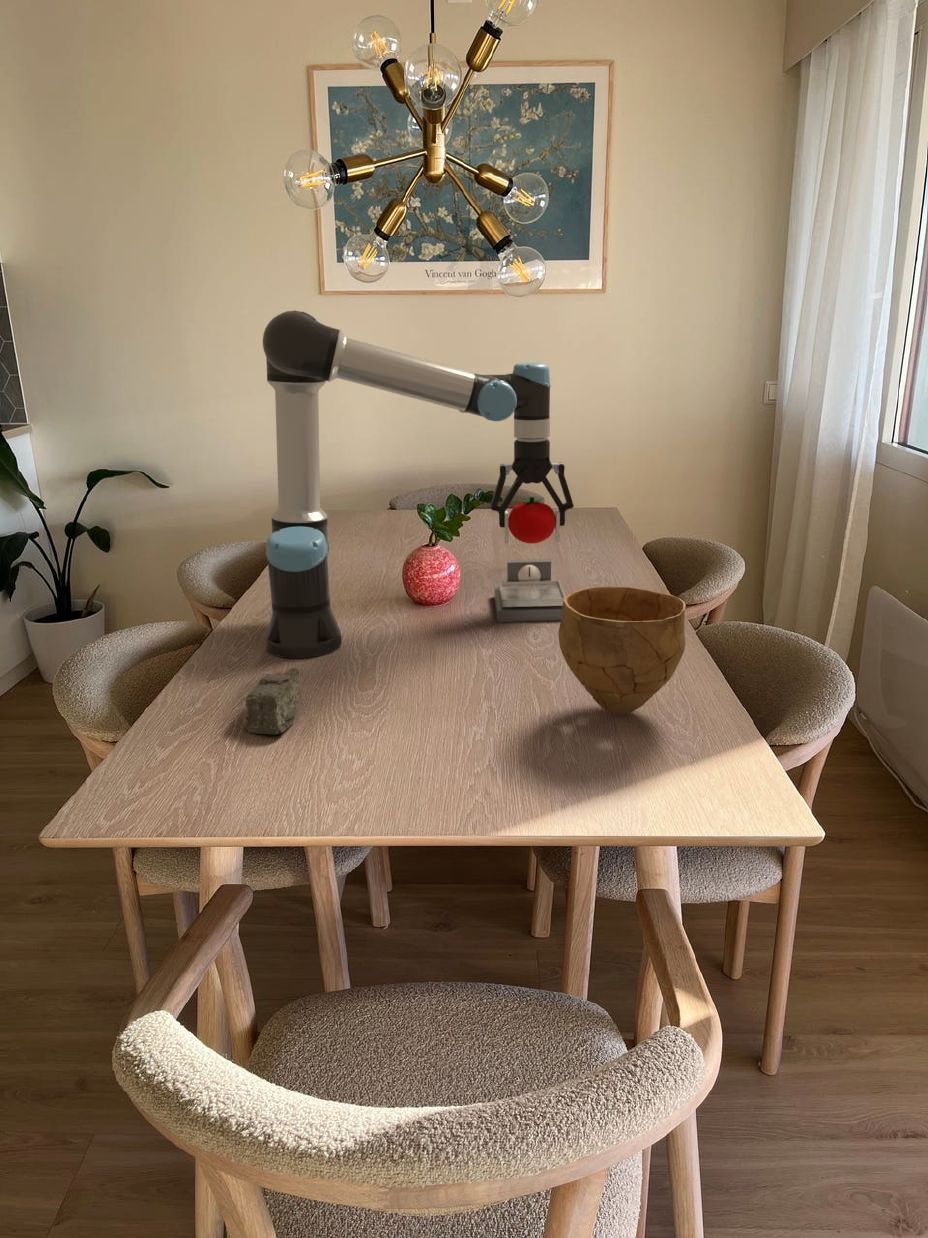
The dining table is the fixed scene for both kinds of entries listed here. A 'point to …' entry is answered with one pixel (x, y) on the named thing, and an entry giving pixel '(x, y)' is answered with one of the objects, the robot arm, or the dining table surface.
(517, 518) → the tomato
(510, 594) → the pan
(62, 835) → the dining table surface
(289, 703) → the rock
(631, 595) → the bowl
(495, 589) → the scale body
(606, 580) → the dining table surface
